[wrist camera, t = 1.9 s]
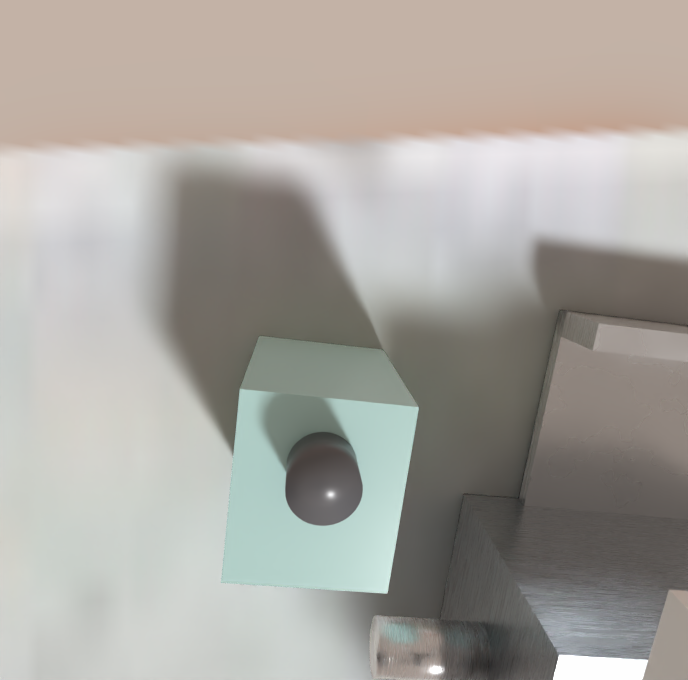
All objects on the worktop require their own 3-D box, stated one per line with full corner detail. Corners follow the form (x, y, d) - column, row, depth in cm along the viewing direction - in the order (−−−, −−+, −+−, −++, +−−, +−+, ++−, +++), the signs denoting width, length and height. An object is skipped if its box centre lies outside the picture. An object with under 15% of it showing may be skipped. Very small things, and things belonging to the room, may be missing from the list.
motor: (349, 645, 25) (391, 1021, 13) (404, 290, 21) (527, 374, 10) (709, 665, 27) (1026, 1011, 15) (812, 341, 23) (1324, 463, 12)
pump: (245, 474, 23) (212, 619, 14) (259, 335, 22) (232, 407, 13) (362, 484, 23) (395, 629, 15) (382, 349, 22) (431, 426, 14)
